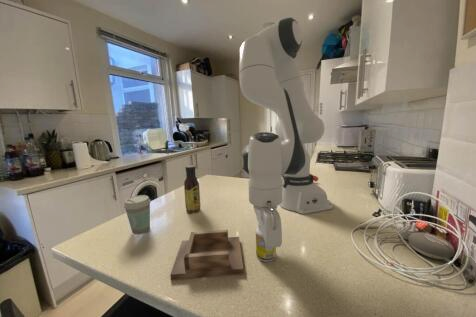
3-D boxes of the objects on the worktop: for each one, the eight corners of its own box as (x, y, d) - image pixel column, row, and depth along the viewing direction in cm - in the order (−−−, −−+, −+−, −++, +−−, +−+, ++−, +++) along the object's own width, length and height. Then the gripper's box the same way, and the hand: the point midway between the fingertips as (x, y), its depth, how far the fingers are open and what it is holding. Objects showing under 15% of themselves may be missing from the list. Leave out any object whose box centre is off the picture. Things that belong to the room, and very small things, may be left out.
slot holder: (239, 240, 64) (238, 226, 63) (243, 273, 51) (242, 256, 50) (182, 245, 63) (180, 230, 62) (170, 279, 49) (168, 262, 48)
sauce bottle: (197, 215, 83) (193, 168, 79) (183, 214, 84) (179, 168, 80) (203, 208, 89) (200, 164, 85) (190, 207, 90) (186, 164, 87)
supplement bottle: (263, 247, 61) (262, 216, 59) (279, 254, 57) (279, 221, 55) (252, 257, 56) (251, 223, 55) (269, 265, 53) (269, 230, 51)
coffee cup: (129, 227, 75) (124, 197, 73) (153, 222, 78) (150, 193, 76) (126, 239, 67) (121, 206, 65) (154, 232, 71) (150, 201, 68)
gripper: (289, 211, 43) (288, 267, 46) (268, 182, 63) (269, 222, 66) (260, 213, 43) (261, 269, 46) (248, 183, 63) (249, 223, 66)
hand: (265, 241), depth 56 cm, fingers closed on supplement bottle, 6 cm apart
